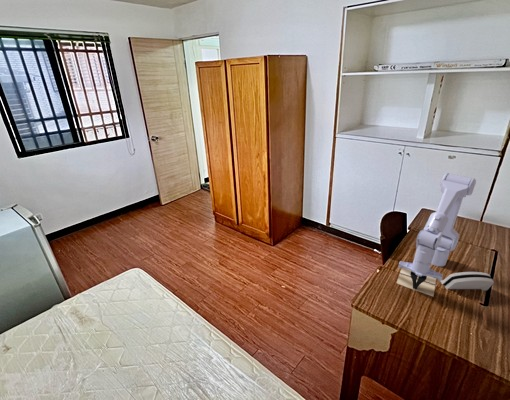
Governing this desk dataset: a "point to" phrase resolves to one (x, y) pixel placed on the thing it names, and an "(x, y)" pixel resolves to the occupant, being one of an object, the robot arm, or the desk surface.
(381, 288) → the desk surface
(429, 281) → the laid board
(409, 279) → the board
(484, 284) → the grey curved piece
